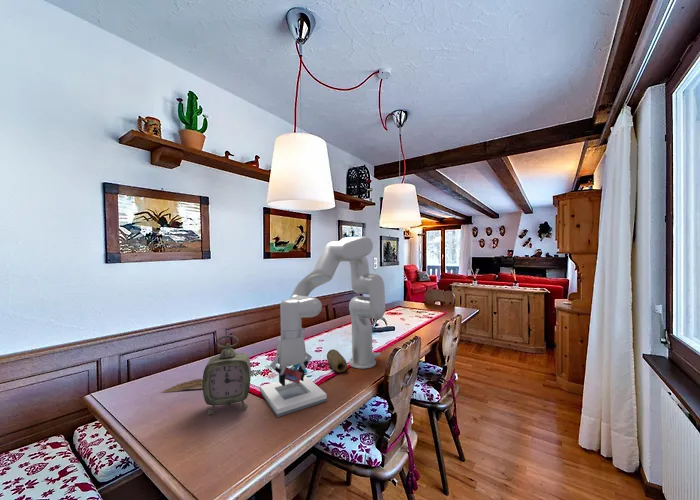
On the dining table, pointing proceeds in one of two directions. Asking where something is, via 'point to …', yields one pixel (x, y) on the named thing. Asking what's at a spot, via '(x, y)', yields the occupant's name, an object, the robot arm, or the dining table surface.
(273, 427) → the dining table surface
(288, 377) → the geometric puzzle
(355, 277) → the robot arm
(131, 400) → the dining table surface
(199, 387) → the wooden fragment
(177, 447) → the dining table surface
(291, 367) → the gear
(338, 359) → the stone weight
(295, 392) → the square picture frame
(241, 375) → the tabletop clock
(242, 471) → the dining table surface
